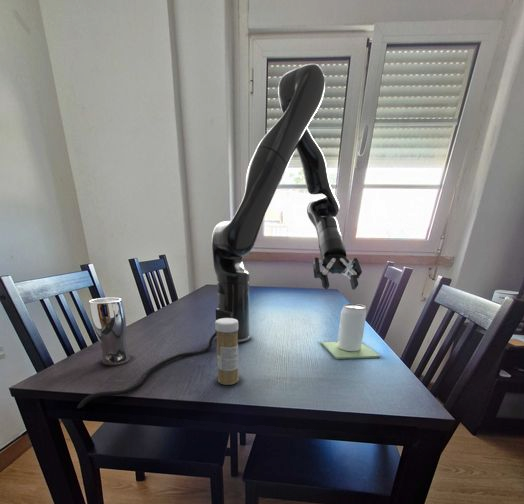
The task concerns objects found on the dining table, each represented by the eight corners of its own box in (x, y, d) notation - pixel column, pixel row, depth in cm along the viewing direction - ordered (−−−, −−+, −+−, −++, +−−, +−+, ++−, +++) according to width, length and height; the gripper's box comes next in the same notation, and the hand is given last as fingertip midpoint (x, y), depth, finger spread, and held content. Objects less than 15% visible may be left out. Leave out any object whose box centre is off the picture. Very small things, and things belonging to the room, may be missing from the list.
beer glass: (96, 360, 69) (83, 299, 64) (125, 353, 74) (115, 296, 69) (107, 368, 65) (94, 304, 60) (136, 360, 70) (127, 300, 64)
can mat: (336, 359, 73) (336, 357, 73) (321, 343, 84) (321, 341, 84) (379, 357, 74) (380, 355, 74) (359, 342, 85) (359, 340, 85)
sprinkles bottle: (219, 376, 62) (217, 317, 58) (240, 376, 62) (239, 317, 58) (216, 385, 58) (213, 323, 53) (238, 386, 58) (237, 323, 53)
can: (336, 350, 77) (341, 307, 73) (337, 343, 83) (342, 302, 79) (361, 353, 75) (367, 309, 71) (360, 345, 81) (366, 304, 77)
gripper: (312, 236, 85) (321, 280, 78) (357, 237, 87) (369, 280, 80) (306, 254, 92) (314, 295, 85) (348, 254, 94) (358, 295, 87)
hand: (341, 288), depth 83 cm, fingers open, 8 cm apart
